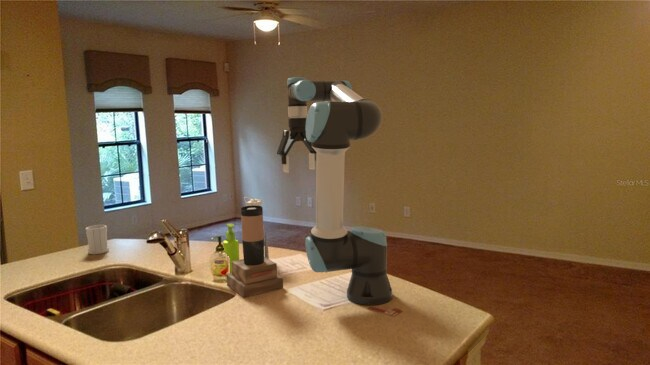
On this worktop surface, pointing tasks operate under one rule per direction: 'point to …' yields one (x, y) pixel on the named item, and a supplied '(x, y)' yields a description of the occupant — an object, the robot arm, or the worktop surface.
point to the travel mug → (252, 235)
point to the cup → (97, 239)
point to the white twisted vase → (258, 203)
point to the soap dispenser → (231, 245)
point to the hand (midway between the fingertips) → (299, 170)
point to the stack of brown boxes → (254, 278)
